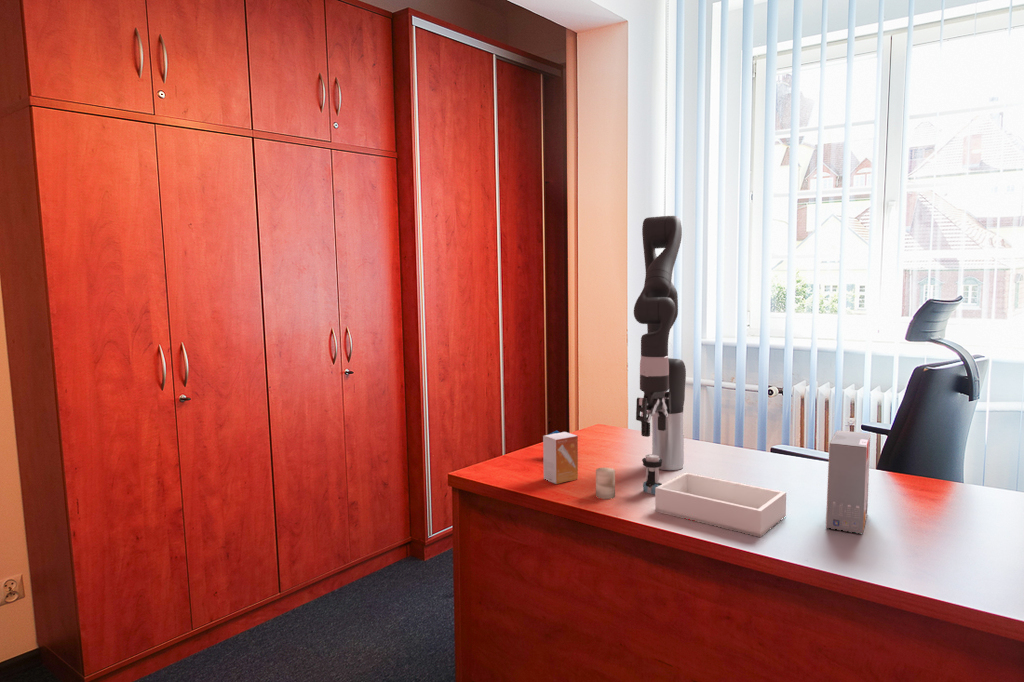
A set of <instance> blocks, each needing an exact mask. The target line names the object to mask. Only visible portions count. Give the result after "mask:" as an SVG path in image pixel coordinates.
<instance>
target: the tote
mask: <svg viewBox="0 0 1024 682" xmlns="http://www.w3.org/2000/svg"><path fill="white" fill-rule="evenodd" d="M661 484H662V485H660V486H658V487H656V488H655V494H654V496H655V501H654V502H655V503H654V504H655V512H656V513H660V514H665V515H669V516H673V517H675V518H680V519H684V518H686V519H685V520H688V519H690V520H689V521H692V520H695V521H694V522H696V521H699V522H698V523H700V522H703V523H702V524H704V523H706V524H705V525H708V524H710V525H709V526H712V525H714V526H713V527H716V526H718V527H717V528H720V527H722V528H721V529H724V528H726V529H725V530H728V529H730V530H729V531H732V530H735V531H734V532H736V531H738V533H740V532H742V533H741V534H744V533H745V535H748V534H750V535H749V536H752V535H754V537H756V536H758V537H757V538H761V536H762V535H763V534H764V535H765V534H767V533H768V532H769V531H770V530H771V529H773V528H774V527H775V526H776V525H777V524H776V523H778V522H779V521H780V520H781V519H782V518H784V517H785V516H786V517H787V492H786V491H781V490H776V489H773V488H772V489H771V488H765V487H763V486H762V487H761V486H757V485H751V484H747V483H746V484H745V483H741V482H736V481H731V480H725V479H720V478H716V477H715V478H714V477H710V476H706V475H701V474H700V475H699V474H696V473H692V472H691V473H690V472H684V473H682V474H680V475H678V476H677V477H674V478H672V479H670V480H668V481H665V482H664V483H661ZM786 517H785V518H786ZM785 518H784V519H785ZM782 520H783V519H782ZM782 520H781V521H782ZM781 521H780V522H781ZM780 522H779V523H780ZM779 523H778V524H779ZM775 524H776V525H775ZM774 525H775V526H774ZM773 526H774V527H773ZM772 527H773V528H772ZM770 528H771V529H770ZM769 529H770V530H769ZM768 530H769V531H768ZM767 531H768V532H767ZM766 532H767V533H766ZM764 535H763V536H764ZM763 536H762V537H763Z"/></svg>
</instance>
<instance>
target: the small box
mask: <svg viewBox="0 0 1024 682" xmlns="http://www.w3.org/2000/svg"><path fill="white" fill-rule="evenodd" d="M549 434H550V433H549ZM578 438H579V436H578V435H577V434H574V433H570V432H567V431H562V432H560V433H555V434H550V435H548V434H546V435H545V434H544V435H542V443H543V445H542V449H543V452H542V453H543V454H542V455H543V461H542V462H543V463H542V465H543V480H545V479H546V480H545V481H547V480H548V482H550V483H552V484H555V485H558V484H562V483H567V482H572V481H576V479H577V480H578V479H579V475H578V474H579V473H578V471H579V464H578V462H579V460H578V459H579V457H578V455H579V454H578V453H579V452H578V451H579V449H578V447H579V446H578V445H579V444H578V441H579V439H578Z"/></svg>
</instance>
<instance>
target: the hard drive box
mask: <svg viewBox="0 0 1024 682" xmlns="http://www.w3.org/2000/svg"><path fill="white" fill-rule="evenodd" d="M871 435H872V434H871V433H870V432H869V433H868V432H858V431H848V430H840V429H839V430H836V431H835V433H834V434H833V437H832V438H831V440H830V442H829V447H828V467H827V468H828V469H827V470H828V471H827V489H826V490H827V491H826V510H825V511H826V513H825V514H826V515H825V528H827V529H829V528H831V530H835V529H837V530H836V531H841V530H843V531H842V532H847V531H849V532H848V533H852V532H856V533H855V534H858V533H863V534H864V531H863V530H865V526H866V522H865V521H866V520H867V516H868V507H869V503H868V502H869V485H870V484H869V480H870V479H869V477H870V456H871V455H870V454H871V452H870V451H871Z"/></svg>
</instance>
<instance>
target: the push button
mask: <svg viewBox="0 0 1024 682" xmlns="http://www.w3.org/2000/svg"><path fill="white" fill-rule="evenodd" d="M641 461H642V465H643V466H644V467H645V481H643V484H642V485H643V489H642V491H643V492H645V493H648V494H653V495H655V488H656V487H658V486H660V485H662V484H663V483H661V482H660V480H659V479H660V475H659V474H660V473H659V471H660V469H659V467H661V466H662V459H660V458H659V456H658V455H653V454H650V453H649V454H647V455H645V457H644V458H642V459H641Z"/></svg>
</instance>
